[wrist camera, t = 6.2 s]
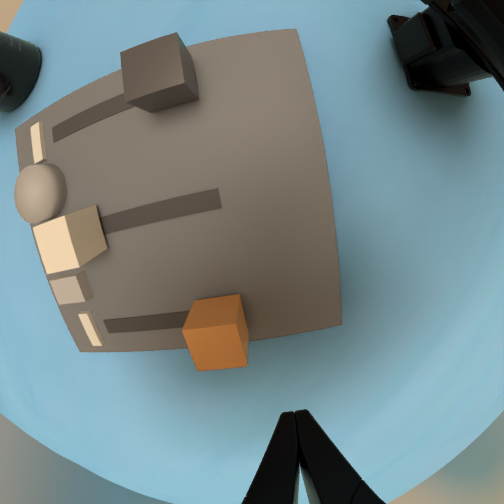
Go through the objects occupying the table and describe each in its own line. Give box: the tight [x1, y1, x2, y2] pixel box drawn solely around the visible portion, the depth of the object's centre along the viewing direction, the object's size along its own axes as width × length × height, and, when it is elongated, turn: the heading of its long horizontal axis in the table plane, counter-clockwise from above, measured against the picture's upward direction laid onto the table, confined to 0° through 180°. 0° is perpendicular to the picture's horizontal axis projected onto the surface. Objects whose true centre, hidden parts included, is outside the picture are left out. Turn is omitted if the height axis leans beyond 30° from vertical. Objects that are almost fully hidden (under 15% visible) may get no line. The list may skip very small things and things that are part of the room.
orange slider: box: [182, 294, 249, 371], centre depth 16 cm, size 3×3×4 cm
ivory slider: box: [33, 205, 107, 274], centre depth 15 cm, size 3×3×4 cm
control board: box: [14, 29, 342, 352], centre depth 16 cm, size 22×20×4 cm
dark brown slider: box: [120, 32, 199, 113], centre depth 12 cm, size 3×3×4 cm
